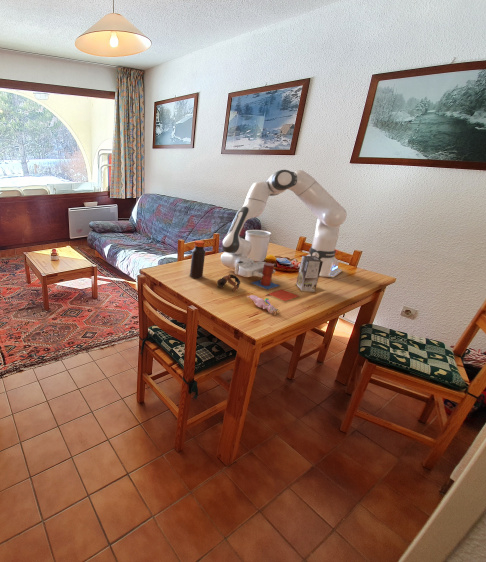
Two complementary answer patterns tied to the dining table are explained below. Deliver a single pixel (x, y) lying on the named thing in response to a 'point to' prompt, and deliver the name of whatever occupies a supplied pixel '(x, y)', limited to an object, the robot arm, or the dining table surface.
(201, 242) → the bottle
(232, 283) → the brown headphones
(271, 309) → the pink elongated piece
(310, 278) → the coffee box
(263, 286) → the blue mat
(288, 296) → the terracotta mat
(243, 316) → the dining table surface
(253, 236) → the utensil holder
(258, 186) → the robot arm
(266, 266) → the rust-red canister
